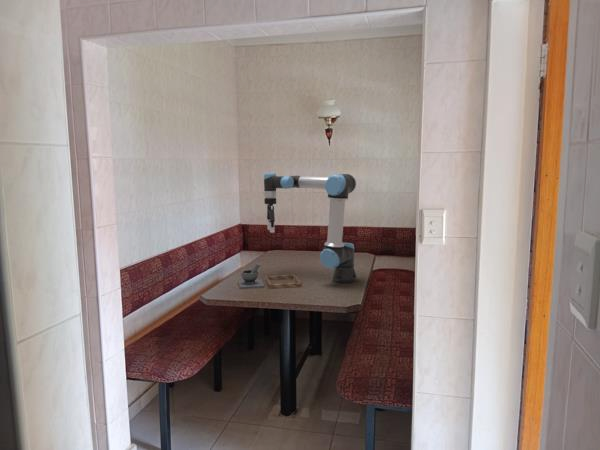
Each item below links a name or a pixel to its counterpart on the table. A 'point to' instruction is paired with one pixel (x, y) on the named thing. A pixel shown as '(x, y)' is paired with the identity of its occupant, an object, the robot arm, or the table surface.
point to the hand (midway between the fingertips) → (270, 231)
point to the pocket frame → (297, 284)
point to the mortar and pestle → (250, 275)
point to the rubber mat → (257, 284)
